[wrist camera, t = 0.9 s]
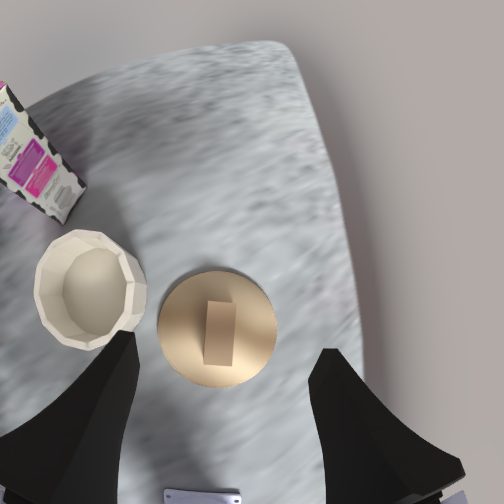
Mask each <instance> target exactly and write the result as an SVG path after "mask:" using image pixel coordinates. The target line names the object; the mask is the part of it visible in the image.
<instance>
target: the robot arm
mask: <svg viewBox="0 0 504 504" xmlns="http://www.w3.org/2000/svg"><path fill="white" fill-rule="evenodd" d="M139 369H140V363H139V357H138V352H137V346H136V339H135V333H134V332H130V331H124V330H118V331H117V332H116V333H115V335H114V336H113V337H112V338H111V340H110V341H109V342H108V343H107V345H106V346H105V347H104V348H103V350H102V351H101V352H100V353H99V354H98V356H97V357H96V358H95V359H94V360H93V362H92V363H91V364H90V365H89V366H88V367H87V368H86V370H85V371H84V372H83V373H82V374H81V375H80V376H79V377H78V378H77V379H76V380H75V381H74V382H73V383H72V384H71V386H70V387H69V388H68V389H66V390H65V391H64V392H63V393H62V394H61V395H60V396H59V397H58V398H57V399H56V400H55V401H53V402H52V403H51V404H50V405H49V406H47V407H46V408H45V409H44V410H42V411H41V412H40V413H39V414H37V415H36V416H35V417H33V418H32V419H30V420H29V421H27V422H26V423H24V424H23V425H21V426H20V427H18V428H16V429H15V430H13V431H11V432H10V433H8V434H6V435H4V436H2V437H0V484H1V485H2V486H4V487H5V488H6V489H5V490H4V489H2V488H0V504H117V489H118V472H119V460H120V452H121V444H122V439H123V434H124V430H125V427H126V423H127V419H128V416H129V412H130V409H131V405H132V402H133V398H134V395H135V391H136V387H137V381H138V375H139ZM308 384H309V394H310V402H311V406H312V410H313V414H314V418H315V422H316V426H317V431H318V435H319V439H320V443H321V447H322V453H323V461H324V470H325V484H326V504H468V502H467V499H466V496H465V493H464V491H463V490H462V491H460V492H458V493H456V494H454V495H453V496H451V497H449V498H447V499H445V500H444V501H442V502H440V500H439V498H441V497H442V496H443V494H442V491H441V490H443V489H445V488H447V487H449V486H450V485H452V484H454V483H455V482H457V481H459V480H460V479H462V478H464V477H465V475H466V474H465V472H464V469H463V466H462V464H461V461H460V459H459V458H456V457H454V456H452V455H450V454H448V453H446V452H444V451H442V450H440V449H439V448H437V447H435V446H434V445H432V444H430V443H429V442H427V441H426V440H424V439H423V438H421V437H420V436H419V435H417V434H416V433H415V432H413V431H412V430H411V429H409V428H408V427H407V426H406V425H404V424H403V423H402V422H401V421H400V420H399V419H398V418H396V416H394V415H393V414H392V413H391V412H390V411H389V410H388V409H387V408H386V407H385V406H384V405H383V404H382V403H381V401H380V400H379V399H378V398H377V397H376V396H375V395H374V394H373V393H372V392H371V390H370V389H369V388H368V387H367V385H366V384H365V383H364V382H363V381H362V379H361V378H360V377H359V376H358V374H357V373H356V372H355V371H354V369H353V368H352V367H351V365H350V364H349V363H348V362H347V360H346V359H345V358H344V356H343V355H342V354H341V353H340V351H339V350H338V349H337V348H335V349H325V348H323V350H322V352H321V354H320V356H319V358H318V360H317V362H316V364H315V366H314V368H313V370H312V372H311V374H310V376H309V378H308ZM167 495H170V496H167ZM235 500H238V501H235ZM241 500H242V497H241V495H240V494H232V493H205V492H192V491H182V490H174V489H165V490H164V504H241Z"/></svg>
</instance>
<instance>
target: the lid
mask: <svg viewBox="0 0 504 504" xmlns="http://www.w3.org/2000/svg"><path fill="white" fill-rule="evenodd" d="M158 335H159V341H160V345H161V348H162V351H163V353H164V355H165V357H166V359H167V360H168V362H169V363H170V364H171V366H172V367H173V368H174V369H175V370H176V371H177V372H178V373H179V374H180V375H182V376H183V377H184V378H186V379H188V380H190V381H191V382H194V383H196V384H199V385H202V386H206V387H213V388H223V387H230V386H234V385H238V384H240V383H243V382H245V381H247V380H248V379H250V378H252V377H253V376H254V375H256V374H257V373H258V372H259V371H260V370H261V369H262V368H263V367H264V366H265V364H266V363H267V361H268V360H269V358H270V356H271V354H272V352H273V350H274V346H275V343H276V337H277V324H276V317H275V314H274V311H273V308H272V306H271V304H270V302H269V300H268V298H267V297H266V296H265V294H264V293H263V292H262V291H261V290H260V289H259V288H258V287H257V286H256V285H255V284H254V283H252V282H251V281H249V280H248V279H246V278H244V277H242V276H240V275H237V274H234V273H230V272H224V271H210V272H204V273H200V274H197V275H194V276H192V277H190V278H188V279H186V280H184V281H183V282H182V283H180V284H179V285H178V286H177V287H176V288H175V289H174V290H173V291H172V292H171V293H170V295H169V296H168V297H167V299H166V301H165V302H164V305H163V307H162V309H161V313H160V316H159V323H158Z"/></svg>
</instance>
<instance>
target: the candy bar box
mask: <svg viewBox="0 0 504 504" xmlns="http://www.w3.org/2000/svg"><path fill="white" fill-rule="evenodd" d="M0 183H2V184H3V185H4V186H6V187H7V188H9V189H10V190H11V191H13V192H14V193H15V194H17V195H19V196H20V197H21V198H23V199H24V200H26V201H27V202H29V203H30V204H31V205H33V206H34V207H36V208H37V209H39V210H40V211H42V212H43V213H45V214H46V215H48V216H49V217H51V218H52V219H54V220H55V221H57V222H58V223H59V224H61V225H64V224H65V222H66V220H67V219H68V217H69V215H70V214H71V212H72V210H73V208H74V207H75V205H76V204H77V202H78V201H79V199H80V198H81V196H82V195H83V193H84V191H85V190H86V188H87V186H86V185H85V183H84V182H83V181H82V180H81V179H80V178H79V177H78V176H77V175H76V173H75V172H74V171H73V170H72V169H71V168H70V166H69V165H68V164H67V163H66V162H65V161H64V159H63V158H62V157H61V156H60V154H59V153H58V152H57V151H56V150H55V148H54V147H53V146H52V145H51V144H50V142H49V141H48V139H47V138H46V137H45V136H44V134H43V133H42V132H41V131H40V129H39V128H38V127H37V125H36V124H35V123H34V121H33V120H32V119H31V117H30V116H29V115H28V113H27V112H26V111H25V109H24V108H23V106H22V105H21V104H20V102H19V101H18V100H17V98H16V97H15V96H14V94H13V93H12V91H11V90H10V88H9V87H8V85H7V83H5V82H3V81H0Z"/></svg>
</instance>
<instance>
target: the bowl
mask: <svg viewBox="0 0 504 504" xmlns="http://www.w3.org/2000/svg"><path fill="white" fill-rule="evenodd" d="M33 296H34V299H35V302H36V306H37V309H38V312H39V315H40V318H41V321H42V324H43V325H44V326H45V327H46V328H47V329H48V330H49V331H50V332H51V333H52V334H53V335H54V336H55V337H56V339H57V340H58V341H59V342H60V343H62V344H63V345H67V346H70V347H74V348H78V349H82V350H87V351H90V350H92V349H95V348H98V347H100V346H103V345H105V344H107V343H108V342H109V341H110V340H111V338H112V337H113V336H114V335H115V333H116V332H117V331H118V330H124V331H130V332H131V331H132V330H133V329H134V328H135V327H136V326H137V324H138V323H139V321H140V320H141V318H142V316H143V314H144V311H145V307H146V303H147V284H146V279H145V276H144V273H143V271H142V269H141V267H140V265H139V263H138V261H137V259H136V258H134V257H133V256H132V255H131V254H130V253H129V252H127V251H126V250H125V249H123V248H122V247H121V246H120V245H119V244H117V243H116V242H115V241H113V240H112V239H110V238H109V237H108V236H106V235H105V234H104V233H102V232H97V231H88V230H79V229H75V230H73V231H71V232H69V233H67V234H65V235H63V236H61V237H59V238H58V239H56V240H54V241H52V242H51V244H50V245H49V247H48V248H47V250H46V252H45V253H44V255H43V256H42V258H41V260H40V261H39V263H38V264H37V268H36V276H35V284H34V294H33Z"/></svg>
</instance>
